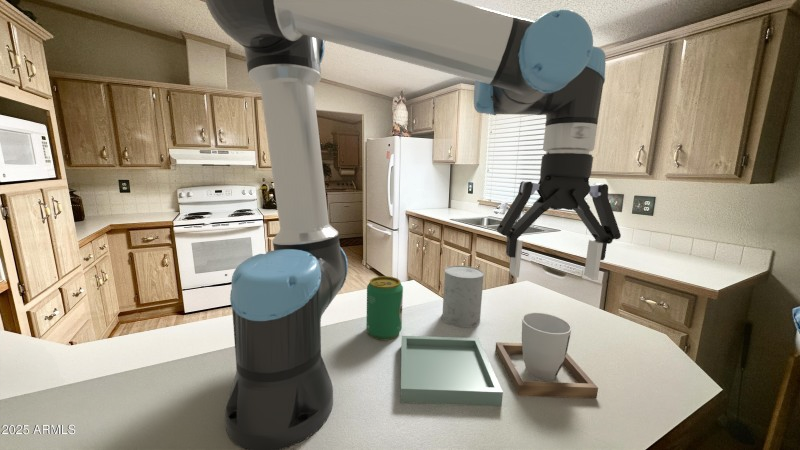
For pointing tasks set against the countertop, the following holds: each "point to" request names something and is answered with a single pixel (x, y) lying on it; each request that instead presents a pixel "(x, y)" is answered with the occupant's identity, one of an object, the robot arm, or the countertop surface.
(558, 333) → the cup
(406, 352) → the tray
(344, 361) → the countertop surface
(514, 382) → the frame
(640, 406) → the countertop surface
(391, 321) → the beverage can
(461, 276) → the grey stone cylinder
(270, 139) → the robot arm
